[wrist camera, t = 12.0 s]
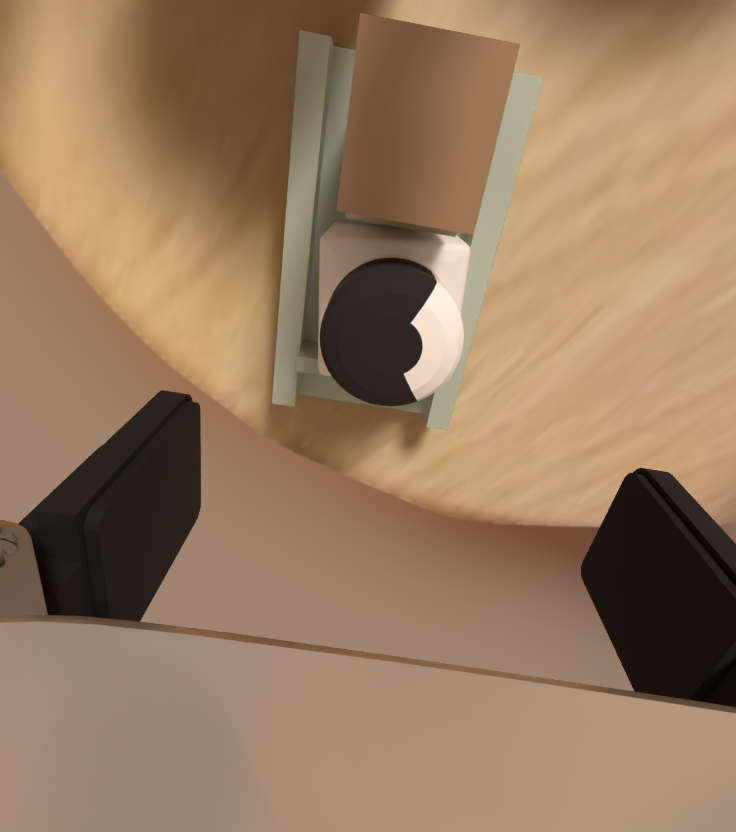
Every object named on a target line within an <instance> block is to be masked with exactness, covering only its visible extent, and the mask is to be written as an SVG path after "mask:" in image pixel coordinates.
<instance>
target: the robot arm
mask: <svg viewBox="0 0 736 832" xmlns="http://www.w3.org/2000/svg"><path fill="white" fill-rule="evenodd" d="M200 444H201V443H200V405H199V404H198V403H195V402H192V398H191V396H190V395H188V394H182V393H176V392H170V391H163V390H162V391H160V392H159V393H157V394H156V395H155V396H154V397H153V398H152V399H151V400H150V401H149V402H148V403H147V404H146V405H145V406H144V407H143V408H142V409H141V410H140V411H138V412H137V413H136V414H135V415H134V416H133V417H132V418H131V419H130V420H129V421H128V422H127V423H126V424H125V425H124V426H123V427H122V428H121V429H119V430H118V431H117V432H116V433H115V434H114V435H113V436H112V437H111V438H110V439H109V440H108V441H107V442H106V443H105V444H104V445H102V446H101V447H99V448H98V449H97V450H96V451H95V452H94V453H93V454H92V455H91V456H89V457H88V458H87V459H86V461H84V462H83V463H82V464H81V465H80V466H79V467H78V468H77V469H76V470H75V471H74V472H73V473H71V474H70V475H69V476H68V477H67V478H66V479H65V480H64V481H63V482H62V483H61V484H60V485H59V486H58V487H57V488H56V489H54V490H53V491H52V492H51V493H50V494H49V495H48V496H47V497H46V498H45V499H44V500H43V501H42V502H41V503H40V504H39V505H38V506H36V507H35V508H34V509H33V510H32V511H31V512H30V513H29V514H28V515H27V516H26V517H25V518H24V519H23V520H22V521H21V522H20V523H18V524H17V523H13V522H9V521H5V520H0V832H736V544H735V543H734V542H733V541H732V539H731V538H730V537H729V536H728V535H727V534H726V533H725V532H724V531H723V530H722V529H721V528H720V527H719V525H718V524H717V523H716V522H715V521H714V520H713V519H712V518H711V517H710V516H709V514H708V513H707V512H706V511H705V510H704V509H703V508H702V507H701V506H700V505H699V504H698V503H697V501H696V500H695V499H694V498H693V497H692V496H691V495H690V494H689V493H688V492H687V491H686V490H685V488H684V487H683V486H682V485H681V484H680V483H679V482H678V481H677V480H676V479H675V478H674V476H673V475H671V474H670V473H669V472H663V471H657V470H651V469H645V468H639V469H637V470H636V471H634V472H633V473H629V474H628V475H626V477H625V478H624V480H623V482H622V484H621V486H620V488H619V490H618V492H617V494H616V496H615V498H614V500H613V502H612V504H611V506H610V508H609V510H608V512H607V514H606V516H605V518H604V520H603V522H602V524H601V526H600V528H599V530H598V532H597V534H596V536H595V538H594V540H593V542H592V544H591V546H590V548H589V550H588V552H587V554H586V556H585V558H584V560H583V563H582V566H581V576H582V579H583V581H584V584H585V586H586V588H587V590H588V593H589V595H590V597H591V599H592V601H593V603H594V605H595V608H596V610H597V612H598V614H599V616H600V618H601V620H602V623H603V625H604V627H605V629H606V631H607V633H608V635H609V638H610V640H611V642H612V644H613V646H614V648H615V650H616V653H617V655H618V657H619V659H620V661H621V663H622V666H623V668H624V670H625V672H626V674H627V676H628V678H629V681H630V683H631V685H632V687H633V689H634V691H635V692H633V691H626V690H620V689H613V688H607V687H601V686H594V685H587V684H581V683H574V682H567V681H561V680H554V679H547V678H541V677H534V676H527V675H520V674H513V673H506V672H500V671H493V670H486V669H479V668H473V667H465V666H459V665H452V664H445V663H438V662H431V661H424V660H418V659H410V658H404V657H396V656H390V655H383V654H376V653H368V652H362V651H355V650H348V649H340V648H333V647H326V646H319V645H312V644H305V643H297V642H291V641H283V640H276V639H269V638H262V637H255V636H248V635H241V634H234V633H226V632H218V631H210V630H202V629H194V628H186V627H178V626H170V625H163V624H154V623H146V622H140V620H141V618H142V617H143V615H144V613H145V611H146V609H147V608H148V606H149V604H150V602H151V601H152V599H153V597H154V595H155V594H156V592H157V590H158V588H159V586H160V585H161V583H162V581H163V579H164V577H165V576H166V574H167V572H168V570H169V569H170V567H171V565H172V563H173V561H174V560H175V558H176V556H177V554H178V552H179V551H180V549H181V547H182V545H183V544H184V542H185V540H186V538H187V536H188V535H189V533H190V531H191V529H192V527H193V526H194V524H195V522H196V520H197V518H198V515H199V512H200V507H201V446H200Z"/></svg>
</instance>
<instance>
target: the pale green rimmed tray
mask: <svg viewBox="0 0 736 832" xmlns="http://www.w3.org/2000/svg"><path fill="white" fill-rule="evenodd" d="M355 51H356V50H353V49H348V48H342V47H337V46H334V44H333V41H332V38H331V36H328V35H323V34H318V33H313V32H308V31H302V30H299V42H298V56H297V69H296V83H295V96H294V110H293V124H292V137H291V151H290V164H289V178H288V191H287V205H286V218H285V232H284V245H283V259H282V273H281V286H280V300H279V313H278V327H277V340H276V354H275V367H274V381H273V395H272V404H278V405H285V406H291V407H294V406H295V403H296V401H297V398H298V395H305V396H312V397H318V398H325V399H331V400H338V401H344V402H351V403H357V404H363V405H370V406H376V407H383V408H389V409H396V410H402V411H409V412H415V413H422V414H424V418H425V423H426V427H429V428H435V429H442V430H448V428H449V424H450V421H451V417H452V413H453V409H454V406H455V402H456V398H457V395H458V391H459V387H460V384H461V380H462V376H463V373H464V369H465V365H466V362H467V358H468V354H469V350H470V347H471V343H472V339H473V336H474V332H475V328H476V325H477V321H478V317H479V314H480V310H481V306H482V303H483V299H484V295H485V291H486V288H487V284H488V280H489V277H490V273H491V269H492V266H493V262H494V258H495V255H496V251H497V247H498V244H499V240H500V236H501V232H502V229H503V225H504V221H505V218H506V214H507V210H508V207H509V203H510V199H511V196H512V192H513V188H514V185H515V181H516V177H517V173H518V170H519V166H520V162H521V159H522V155H523V151H524V148H525V144H526V140H527V137H528V133H529V129H530V125H531V122H532V118H533V114H534V111H535V107H536V103H537V100H538V96H539V92H540V89H541V85H542V81H543V78H544V77H540V76H535V75H530V74H525V73H519V72H513V75H512V79H511V83H510V87H509V91H508V95H507V99H506V103H505V107H504V111H503V116H502V120H501V124H500V128H499V132H498V136H497V140H496V144H495V148H494V152H493V156H492V160H491V164H490V168H489V172H488V177H487V181H486V185H485V189H484V193H483V197H482V201H481V205H480V209H479V213H478V217H477V221H476V225H475V229H474V233H473V235H472V234H466V233H460V232H457V233H456V235H457V236H458V237H459V238H460V239H462V240H463V241H464V242H465V243H466V244H468V246H469V247H470V258H469V265H468V271H467V278H466V284H465V291H464V297H463V304H462V311H461V319H462V323H463V330H464V342H463V349H462V354H461V357H460V359H459V362H458V364H457V366H456V368H455V370H454V372H453V373H452V376H451V379H450V381H449V382H448V383H444V384H443V386H441V387H440V388H439V389H438V390H437V391H435V392H434V393H433V394H431V395H429V396H428V397H426V398H424V399H422V400H420V401H417V402H414V403H411V404H407V405H402V406H380V405H375V404H370V403H367V402H364V401H362V400H360V399H358V398H356V397H354V396H352V395H351V394H349V393H348V392H346V391H345V390H344V389H343V388H342V387H341V386H339V384H338V383H337V382H336V381H335V380H334V379H333V377H332V376H324V375H321V374H320V373H319V370H318V334H319V262H320V239H321V237H322V236H323V235H324V234H325V233H326V232H327V230H328V229H329V228H330V227H331V226H332V225H333V224H334V223H335V222H338V221H339V222H354V223H369V224H377V223H372V222H366V221H360V220H354V219H349V218H345V216H346V212H340V211H337V202H338V194H339V186H340V177H341V169H342V160H343V152H344V144H345V135H346V127H347V118H348V110H349V101H350V93H351V85H352V76H353V68H354V59H355Z"/></svg>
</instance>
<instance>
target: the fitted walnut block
mask: <svg viewBox="0 0 736 832" xmlns="http://www.w3.org/2000/svg"><path fill="white" fill-rule="evenodd" d="M519 46H520V44H516V43H511V42H506V41H501V40H496V39H491V38H486V37H481V36H476V35H470V34H465V33H460V32H455V31H450V30H445V29H440V28H435V27H430V26H425V25H420V24H415V23H409V22H404V21H399V20H394V19H389V18H384V17H379V16H374V15H369V14H364V13H360V17H359V26H358V34H357V43H356V51H355V59H354V68H353V76H352V85H351V93H350V101H349V110H348V118H347V127H346V135H345V144H344V152H343V160H342V169H341V177H340V186H339V194H338V202H337V211H340V212H346V216H345V218H349V219H354V220H360V221H366V222H372V223H377V224H383V225H389V226H394V227H400V228H406V229H412V230H417V231H423V232H429V233H435V234H440V235H446V236H452V237H456V233H457V232H460V233H466V234H472V235H473V233H474V229H475V225H476V221H477V217H478V213H479V209H480V205H481V201H482V197H483V193H484V189H485V185H486V181H487V177H488V172H489V168H490V164H491V160H492V156H493V152H494V148H495V144H496V140H497V136H498V132H499V128H500V124H501V120H502V116H503V111H504V107H505V103H506V99H507V95H508V91H509V87H510V83H511V79H512V75H513V71H514V67H515V63H516V59H517V55H518V50H519Z"/></svg>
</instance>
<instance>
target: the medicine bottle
mask: <svg viewBox="0 0 736 832" xmlns="http://www.w3.org/2000/svg"><path fill="white" fill-rule="evenodd" d="M469 258H470V247H469V246H468V244H466V243H465V242H464V241H463V240H462V239H460V238H459V237H458V236H457V235H456V237H452V236H446V235H440V234H435V233H429V232H423V231H417V230H412V229H406V228H400V227H394V226H389V225H383V224H369V223H354V222H339V221H338V222H335V223H334V224H333V225H332V226H331V227H330V228H329V229H328V230H327V232H326V233H325V234H324V235H323V236H322V237H321V239H320V262H319V334H318V370H319V373H320V374H321V375H324V376H332V377H333V379H334V380H335V381H336V382H337V383H338V384H339V386H341V387H342V388H343V389H344V390H345V391H346V392H348V393H349V394H351V395H352V396H354V397H356V398H358V399H360V400H362V401H364V402H367V403H370V404H375V405H380V406H402V405H407V404H411V403H414V402H417V401H420V400H422V399H424V398H426V397H428V396H429V395H431V394H433V393H434V392H435V391H437V390H438V389H439V388H440V387H441V386H443V384H444V383H448V382H449V381H450V379H451V376H452V373H453V372H454V370H455V368H456V366H457V364H458V362H459V359H460V357H461V354H462V349H463V342H464V330H463V323H462V319H461V311H462V304H463V297H464V291H465V284H466V278H467V271H468V265H469Z"/></svg>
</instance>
